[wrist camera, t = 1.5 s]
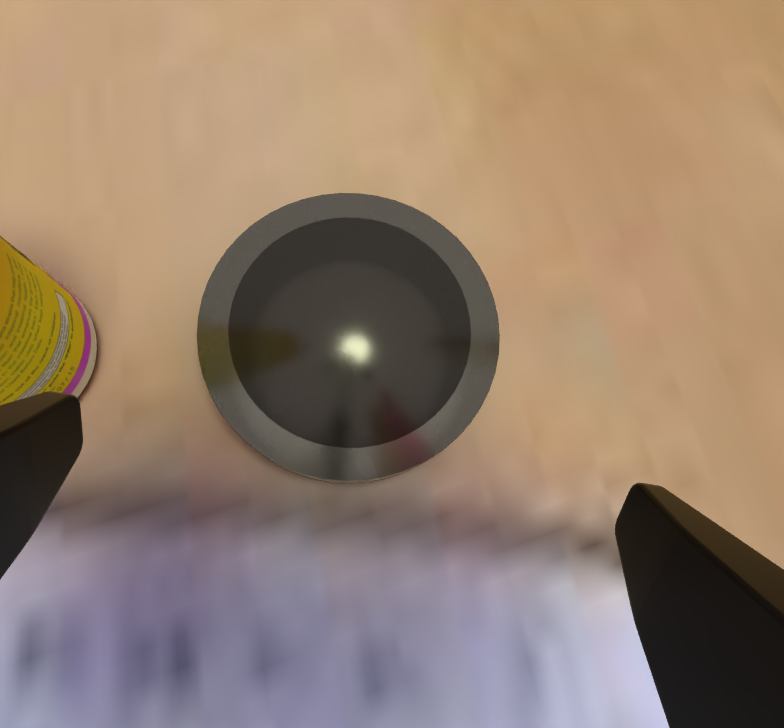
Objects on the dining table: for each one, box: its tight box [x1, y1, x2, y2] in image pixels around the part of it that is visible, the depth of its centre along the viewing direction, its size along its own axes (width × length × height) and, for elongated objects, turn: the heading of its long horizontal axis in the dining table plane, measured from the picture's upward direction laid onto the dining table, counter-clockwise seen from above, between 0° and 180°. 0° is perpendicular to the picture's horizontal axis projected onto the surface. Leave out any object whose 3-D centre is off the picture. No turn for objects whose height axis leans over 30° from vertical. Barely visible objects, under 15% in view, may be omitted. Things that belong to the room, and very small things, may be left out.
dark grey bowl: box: [197, 193, 500, 483], centre depth 23 cm, size 12×12×2 cm
